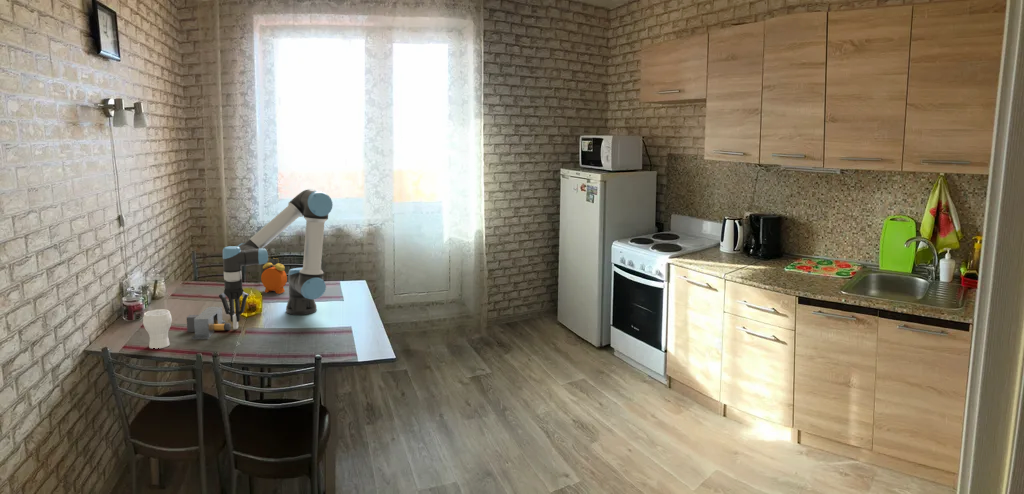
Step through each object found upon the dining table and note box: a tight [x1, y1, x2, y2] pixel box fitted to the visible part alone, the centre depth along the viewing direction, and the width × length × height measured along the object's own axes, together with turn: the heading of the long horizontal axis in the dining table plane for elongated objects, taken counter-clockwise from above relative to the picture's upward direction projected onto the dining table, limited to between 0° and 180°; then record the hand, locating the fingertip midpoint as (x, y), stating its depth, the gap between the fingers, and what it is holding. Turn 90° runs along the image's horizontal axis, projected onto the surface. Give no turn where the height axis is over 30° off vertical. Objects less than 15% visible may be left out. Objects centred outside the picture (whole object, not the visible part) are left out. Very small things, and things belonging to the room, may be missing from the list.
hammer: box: [186, 314, 232, 333], centre depth 285 cm, size 18×4×7 cm, turn 98°
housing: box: [191, 306, 226, 340], centre depth 285 cm, size 7×25×9 cm, turn 8°
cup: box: [142, 308, 173, 350], centre depth 263 cm, size 11×11×15 cm
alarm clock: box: [260, 257, 288, 295], centre depth 352 cm, size 13×6×20 cm, turn 77°
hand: (235, 328), depth 288 cm, fingers closed
